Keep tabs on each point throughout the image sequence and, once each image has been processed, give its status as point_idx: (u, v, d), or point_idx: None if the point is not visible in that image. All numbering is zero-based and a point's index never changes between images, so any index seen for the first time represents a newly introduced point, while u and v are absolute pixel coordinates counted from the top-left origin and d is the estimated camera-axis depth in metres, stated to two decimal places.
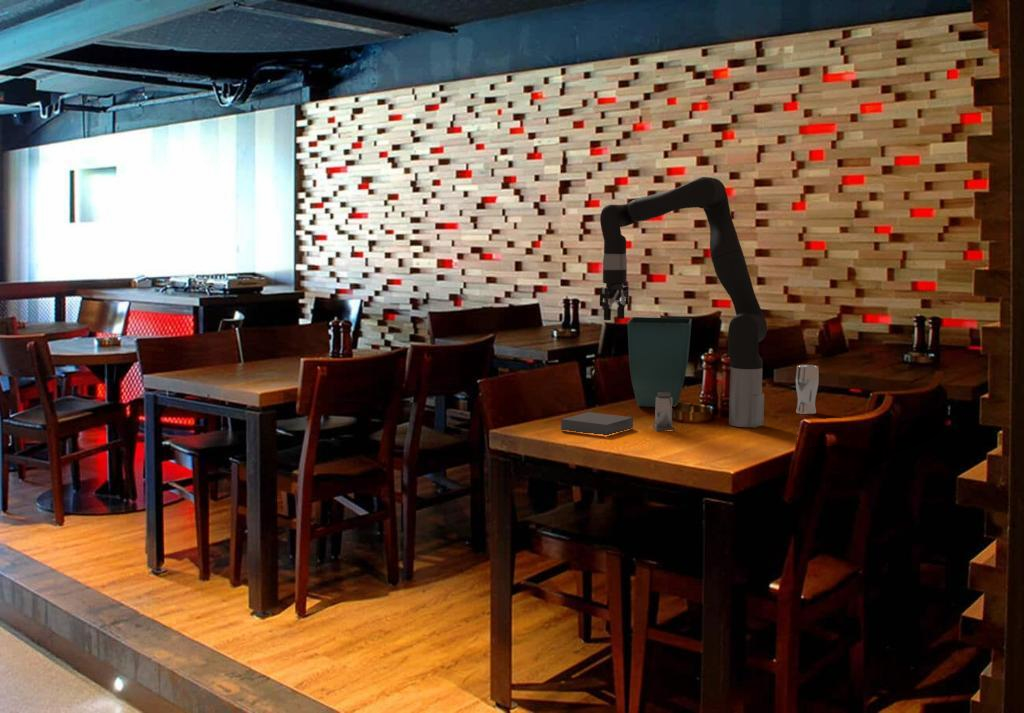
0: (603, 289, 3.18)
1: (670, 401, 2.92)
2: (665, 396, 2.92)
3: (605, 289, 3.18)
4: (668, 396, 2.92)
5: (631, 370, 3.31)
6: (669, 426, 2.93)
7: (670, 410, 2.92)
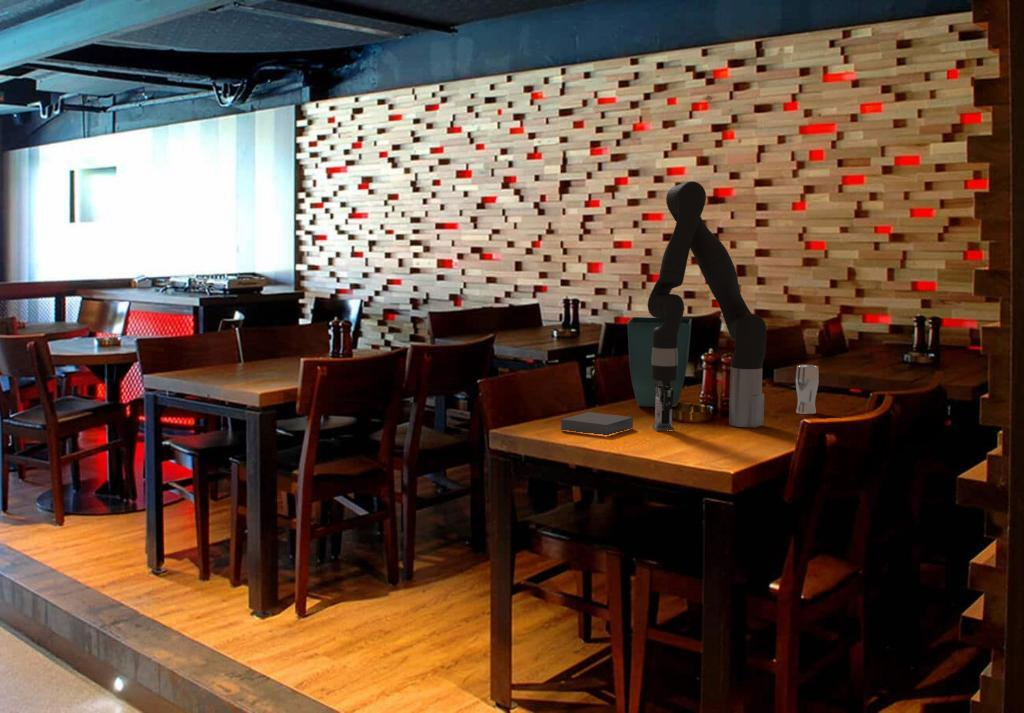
0: (669, 393, 2.87)
1: None
2: None
3: (671, 392, 2.87)
4: None
5: (631, 370, 3.31)
6: (669, 426, 2.93)
7: None
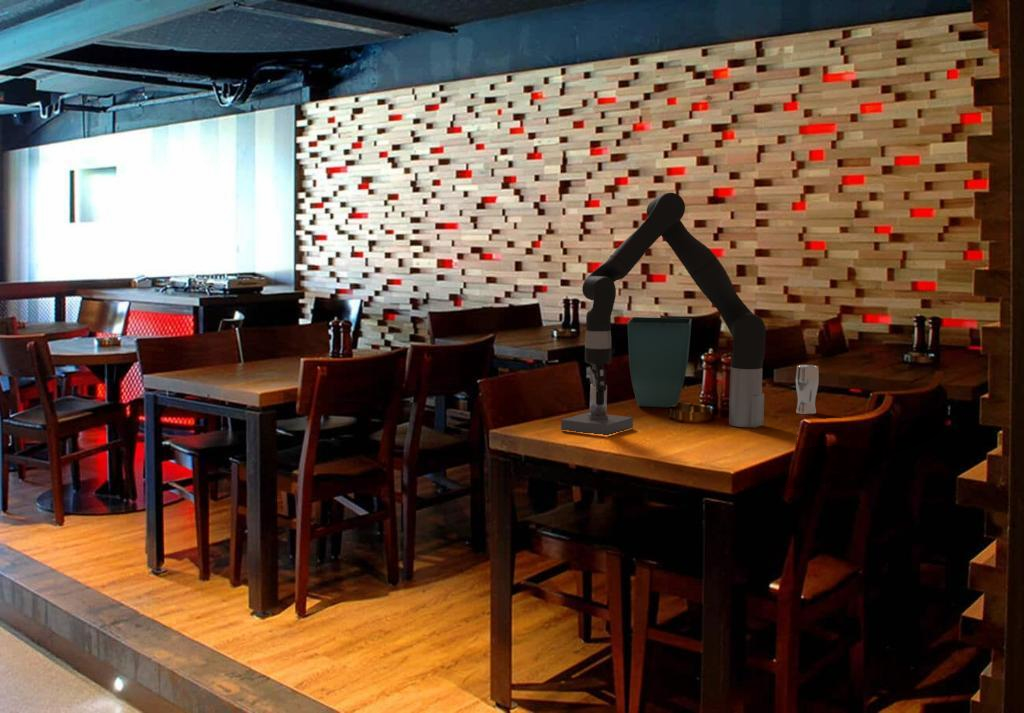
0: (601, 371, 2.85)
1: None
2: None
3: (604, 371, 2.85)
4: None
5: (631, 370, 3.31)
6: (603, 414, 2.92)
7: (604, 399, 2.91)
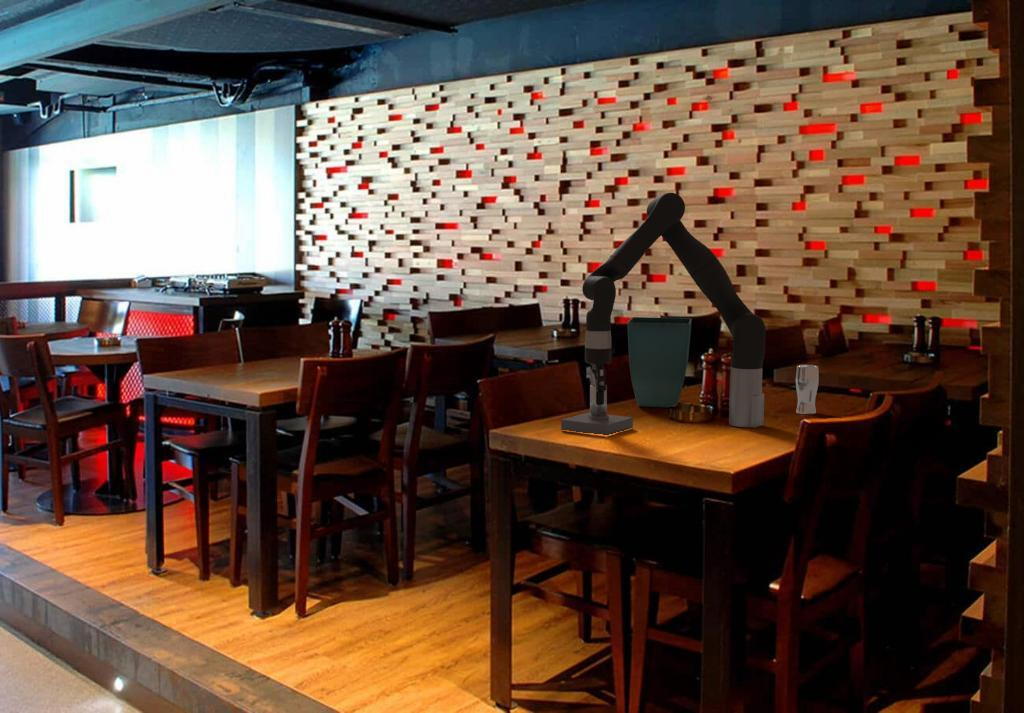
0: (601, 371, 2.85)
1: None
2: None
3: (604, 371, 2.85)
4: None
5: (631, 370, 3.31)
6: (604, 414, 2.92)
7: (604, 399, 2.91)
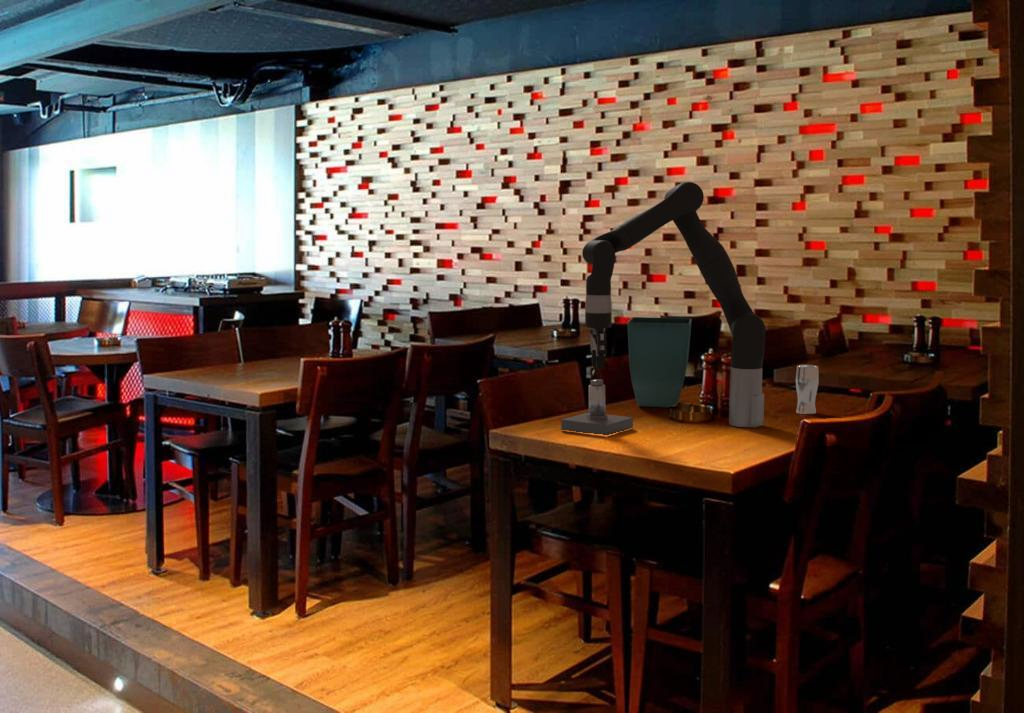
0: (602, 335, 2.84)
1: (603, 389, 2.91)
2: (598, 384, 2.91)
3: (604, 335, 2.84)
4: (601, 384, 2.91)
5: (631, 370, 3.31)
6: (603, 414, 2.92)
7: (603, 398, 2.91)
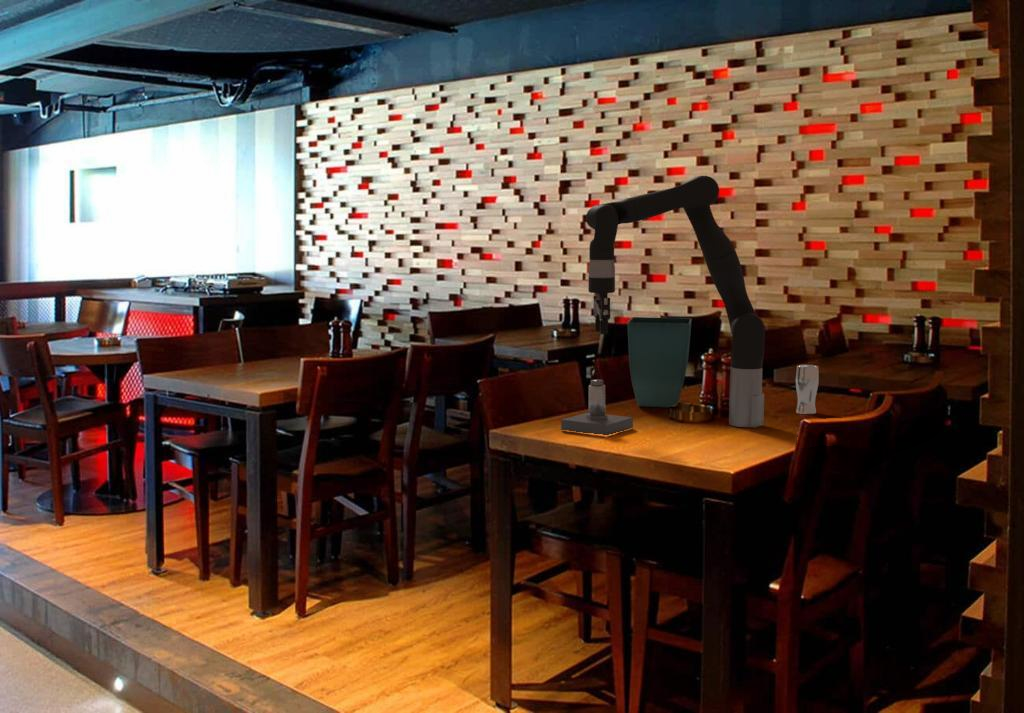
0: (605, 299, 2.83)
1: (603, 389, 2.91)
2: (598, 384, 2.91)
3: (608, 299, 2.83)
4: (601, 384, 2.91)
5: (631, 370, 3.31)
6: (603, 414, 2.92)
7: (603, 398, 2.91)
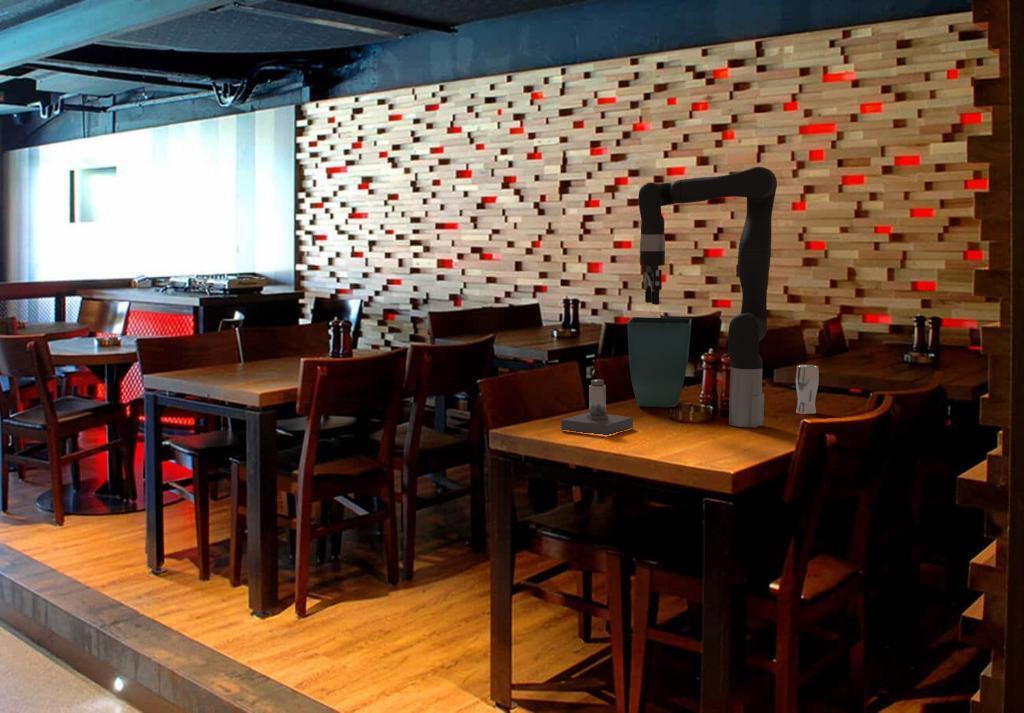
0: (657, 271, 3.02)
1: (604, 389, 2.91)
2: (599, 384, 2.91)
3: (659, 271, 3.02)
4: (601, 384, 2.91)
5: (631, 370, 3.31)
6: (603, 414, 2.92)
7: (604, 398, 2.91)
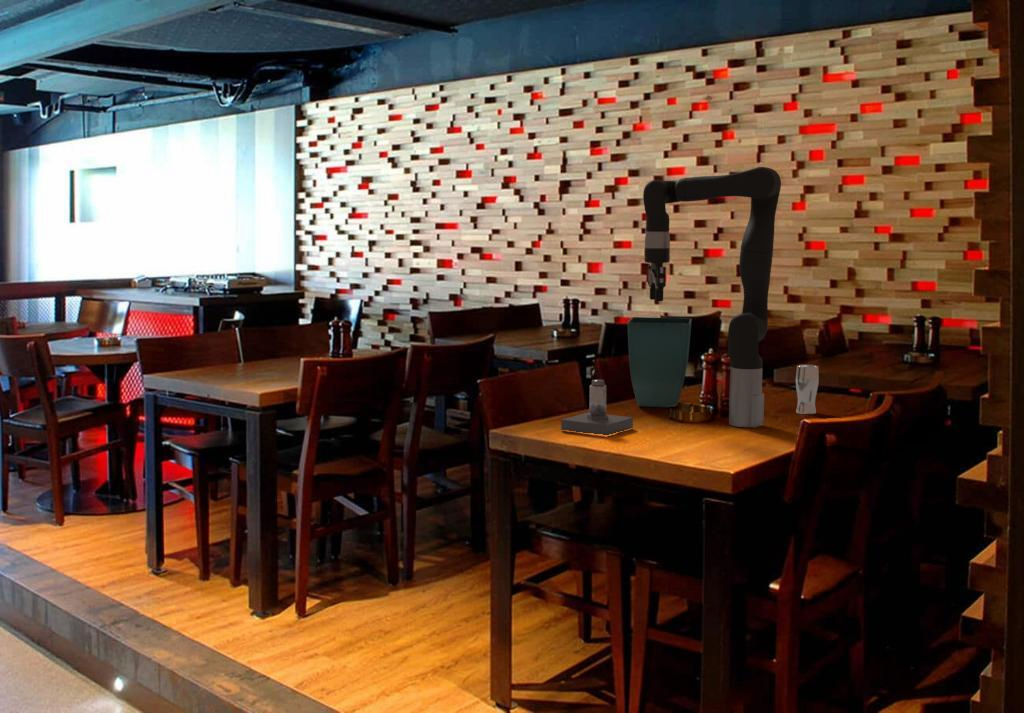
0: (661, 268, 3.03)
1: (604, 389, 2.91)
2: (599, 384, 2.91)
3: (664, 268, 3.03)
4: (602, 384, 2.91)
5: (631, 370, 3.31)
6: (603, 414, 2.92)
7: (604, 399, 2.91)
